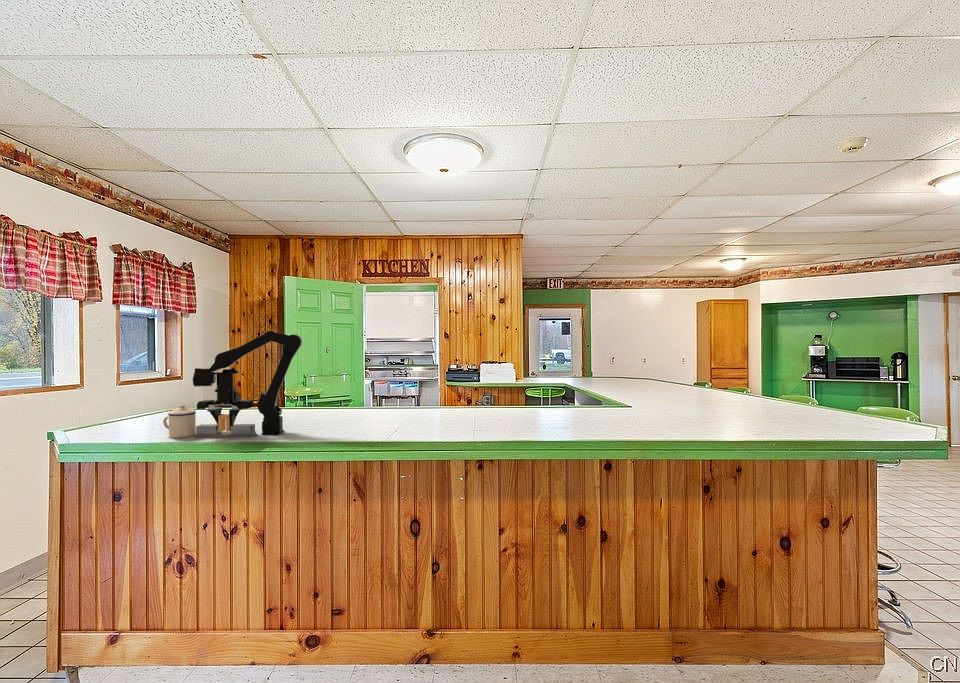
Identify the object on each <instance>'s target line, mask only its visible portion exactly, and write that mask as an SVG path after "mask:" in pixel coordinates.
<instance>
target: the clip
mask: <svg viewBox="0 0 960 683" xmlns="http://www.w3.org/2000/svg"><path fill="white" fill-rule="evenodd" d="M218 431H221V432H231V427H230V419H229V413H221V415H218Z"/></svg>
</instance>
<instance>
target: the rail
mask: <svg viewBox="0 0 960 683" xmlns="http://www.w3.org/2000/svg"><path fill="white" fill-rule="evenodd" d="M255 435H257V431H256V424H255V423H234V425H232V426H231V431H218V425H217V423H215V424H212V423H210V424H209V423H208V424H206V423H204V424H202V423H201V424H198V425H196V434H195V435H194V438H195V437H216V439H217V438H220V439H221V438H251V437H253V436H255Z"/></svg>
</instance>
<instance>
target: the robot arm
mask: <svg viewBox="0 0 960 683" xmlns="http://www.w3.org/2000/svg"><path fill="white" fill-rule="evenodd" d="M271 342H273V343H277V344H281V345H283V350H282V356H281V359H280V361H279V363H278V365H277V368H276V370H275V373H274V375H273V377H272V380H271V382H270V385H269V387H268V389H267V391H266V392H265V391H263V392H261V393H260V397H259V399H258V401H257V402H256V405H257V410H258V412H259V413H260V414H261V415H262V416H263V419H262V421H261V435H263V436H264V435H265V436H266V435H274V436H275V435H280V434H282V433H284V432H285V430H284V428H283V427H284V424H283V416H282V412H283V409H282V408H281V407H279V406H278V400H279V399H278V398H279V393H280V391H281V390H280V389H281V387H282V384H283V382H284V380H285V377H286V375H287V373H288V370H289V368H290V365H291V363H292V360H293V359H294V357H295V356H296V354H297V352H298V351H299V350H300V348H301V346H302V345H303V339H302V337H301V335H298V334H290V335H289V334H284V333H280V332H277V331H274V330H268V331H266V332H265V333H264V334H262V335H261V334H260V336H259V335H258V336H257V337H256V338H253V339H252V340H250V341H248V342H246V343H243V344H242V345H241V346H238V347H236V348H232V349H228V350H225V351H222V352H220V353H218V354H216V355H215V358H214V362H213V364H212V365H211V366H210V367H209V368H208V367H207V368H200V367H196V368H194V372H193V377H192V385H193V386H194V387H195V388H197V387H212V386H213V384H216V389H214V393H216V399H215V400H214V399H203V400H199V401H198V402H197V404H196V410H206V409H207V410H206V411H207V412H209V413H210V415H211V416H212V418H213V419H214V421H215V424H217V425H218V415H221V414H222V409H223V408H226V407H227V408H231V409H229V410H228V414H229V419H230V427H231V426H232V425H235V421H236V419H237V417H238V414H239V413H240V411H241V410H247V409H250V408H253V407H254V406H255V405H254V404H255V403H254V400H253V399H242V393H240V392H238V391H237V390H236V387H235V383H234V381H235V380H234V379H235V378H234V374H239V373H240V370H238V369H237V368H236V367H235V366H233V365H235V364H236V363H237V362H238V361H239V360H241V359H242V358H243V357H244V356H246V355H248V354H250V353H252V352H253V351H256V350H257V349H259V348H261V347H264V346H265V345H267V344H269V343H271ZM232 366H233V367H232ZM229 367H232V368H229ZM221 369H222V371H220V370H221Z"/></svg>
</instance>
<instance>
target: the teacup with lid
mask: <svg viewBox="0 0 960 683" xmlns="http://www.w3.org/2000/svg"><path fill="white" fill-rule="evenodd" d="M196 414H197V411H196V410H195V409H192V408H190V407H188V406H186V404H179V405H178V407H177V408H175V409H173V410H171V411H169V412H168V413H167V415H168V416H165V417H164V418H163V420H162V423H163V426H164V428H165V429H166V430H168V437H170V438H171V437H172V439H179V438H180V439H181V438H182V437H184V438H190V437H193V436H195V435H196V426H197V425H196V424H197V423H196V420H197V419H196Z"/></svg>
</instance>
